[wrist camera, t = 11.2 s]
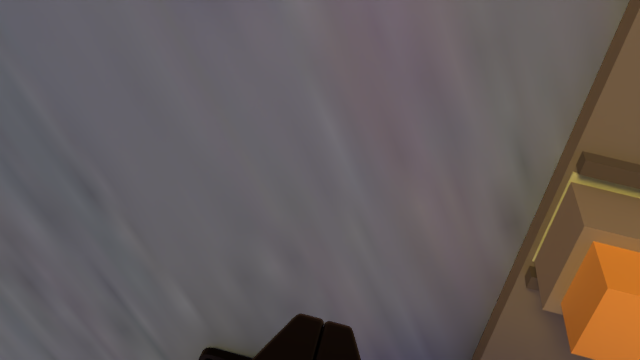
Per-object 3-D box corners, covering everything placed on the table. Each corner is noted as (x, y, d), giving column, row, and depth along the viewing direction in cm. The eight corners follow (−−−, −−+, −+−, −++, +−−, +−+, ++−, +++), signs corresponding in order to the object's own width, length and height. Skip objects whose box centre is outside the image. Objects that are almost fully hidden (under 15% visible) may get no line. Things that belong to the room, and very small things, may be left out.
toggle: (612, 280, 20) (646, 384, 17) (534, 260, 21) (550, 359, 17) (656, 202, 19) (705, 299, 15) (570, 181, 19) (598, 272, 15)
